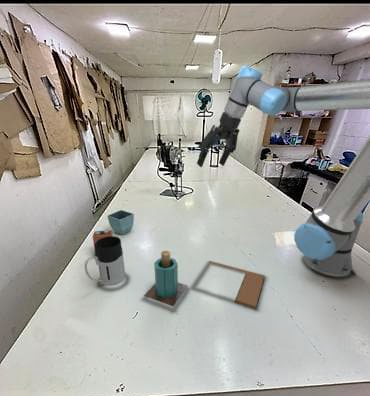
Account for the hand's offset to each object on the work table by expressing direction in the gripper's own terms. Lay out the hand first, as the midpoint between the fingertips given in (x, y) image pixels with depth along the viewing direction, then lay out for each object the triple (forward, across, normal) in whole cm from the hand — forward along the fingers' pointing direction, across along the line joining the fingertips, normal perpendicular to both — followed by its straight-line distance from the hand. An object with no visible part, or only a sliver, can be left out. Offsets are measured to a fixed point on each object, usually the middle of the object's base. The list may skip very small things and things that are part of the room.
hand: (210, 164), depth 100 cm
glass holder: (+30, +50, +21) cm, 63 cm away
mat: (+18, +19, +42) cm, 50 cm away
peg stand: (+23, +38, +35) cm, 57 cm away
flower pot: (+41, +29, -10) cm, 51 cm away
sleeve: (+22, +38, +34) cm, 56 cm away
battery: (+37, +43, +3) cm, 57 cm away
